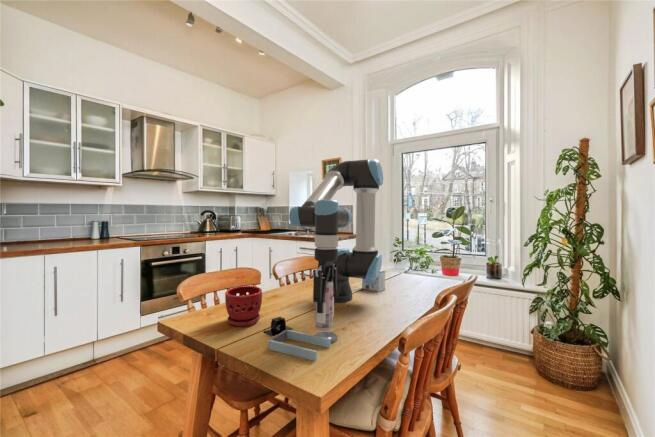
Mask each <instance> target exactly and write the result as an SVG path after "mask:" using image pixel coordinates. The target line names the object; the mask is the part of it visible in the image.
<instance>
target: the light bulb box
mask: <svg viewBox="0 0 655 437" xmlns="http://www.w3.org/2000/svg"><path fill="white" fill-rule="evenodd" d="M361 289H364V290H370V291H373V292H377V293H378V292H383V291H384V290H386V269H383V268H381V269H380V273H379V275H378V277H377V278H376V279H367V280H366V279H361Z"/></svg>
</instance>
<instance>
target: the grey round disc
mask: <svg viewBox="0 0 655 437" xmlns="http://www.w3.org/2000/svg"><path fill="white" fill-rule="evenodd" d="M313 335H315V336H320V337H325V338H329V339H330V344H333V343H336V342H337V341H338V337H339V336H338V335H337V333H334V332H332V331H318V332H316V333H314V334H313Z"/></svg>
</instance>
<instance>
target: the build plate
mask: <svg viewBox="0 0 655 437" xmlns="http://www.w3.org/2000/svg"><path fill="white" fill-rule="evenodd" d="M286 322H287V321H286V318H284V317H283V316H282V317H281V316H278V317H274V318H271V321H270V329H267V330H264V331H262V333H263V334H265V335H267V336H269V337H271V338H273V337H275V336H276V335H278V334H280V333H281V332H283V331H284V330H286V329H287V330H292V331H293V330H294V328H293V327H290V326H288V325H286V324H287V323H286Z"/></svg>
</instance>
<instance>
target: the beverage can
mask: <svg viewBox="0 0 655 437" xmlns="http://www.w3.org/2000/svg"><path fill="white" fill-rule="evenodd" d="M324 302H326V318H325V324H324V323H319V322H317V302H315V316H314V319H315V322H314V324H315V329H316V330H318V331H319V332H329V331H330V330H332V329H333V328H334V319H333V318H334V317H333V282H332V281H327V284H326V292H325V299H324Z"/></svg>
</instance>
